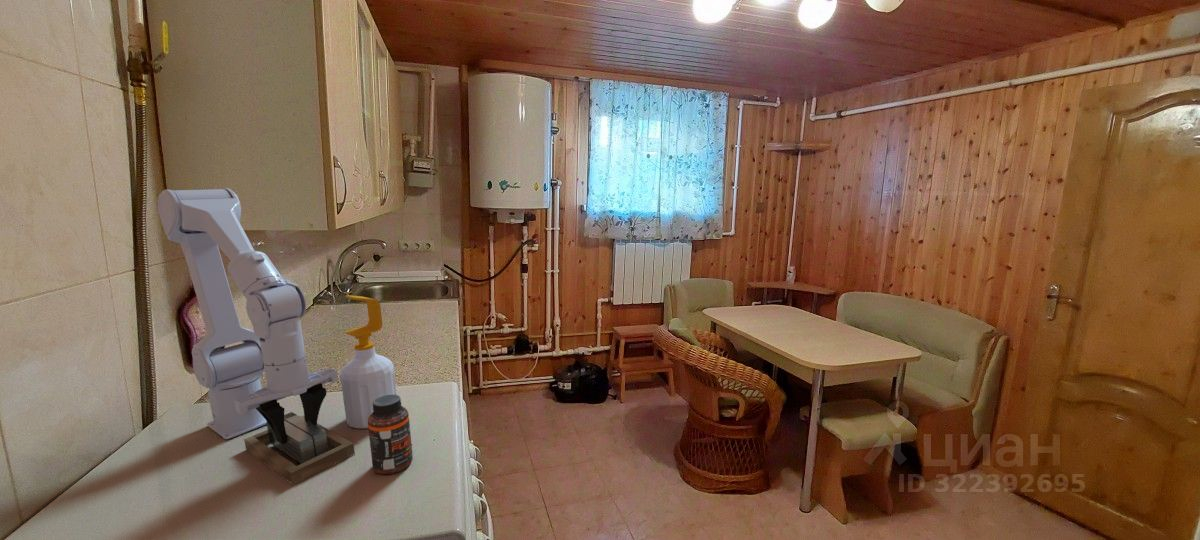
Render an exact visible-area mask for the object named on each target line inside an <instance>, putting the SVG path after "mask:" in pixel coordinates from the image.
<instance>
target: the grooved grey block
mask: <svg viewBox="0 0 1200 540" xmlns="http://www.w3.org/2000/svg"><path fill="white" fill-rule="evenodd" d="M266 423H267V424H266V428H267V429H266V430H268V434H269V440H270V443H269V444H271V445H272V446H273V447H275V448H277V449H278V450H280V451H281V452H283V453H285V454H286V455H287V456H289V457H290V458H292V459H293V460H295V461H296V462H298V463H300V464H302V463H304V462H307V461H309V460H311V459H313V458H315V457H317V456H319V455H321V454H323V453H326V452H328V451H330V450H329V449H330V448H329V446H328V442H327V435H326V430H324V429H322V428H320V427H318V426H317V425H315V424H313V423H311V422H309V421H307V420H305V419H304V418H302V417H301V416H300V415H298V414H296V413H294V412H293V411H291V412H289V413H285V414H284V425H285V430H286V436H287V443H284V444H281V443H280V442H278V441H277V439H276V436H275V434H274V432H273V430H272V428H271V427H270V425H269V424H268V422H266Z"/></svg>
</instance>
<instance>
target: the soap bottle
mask: <svg viewBox="0 0 1200 540" xmlns="http://www.w3.org/2000/svg"><path fill="white" fill-rule="evenodd" d="M345 298H346V299H351V300H356V301H363V302H365V304H366V306H367V313H368V314H367V315H368V323H367V324H365V325H364V326H360V327H356V328H352V329H349V330H346V332H345V333H346V335H349V336H352V337H354V338H355V340H358V343H357V344H355V345H354V353H355V354H354V355H355V357H354V358H353V359H351V360H350V361H349V362H347V363H346V364H345V365H344V367H342V369H341V371H340V372H341V373H340V375H339V376H340V384H341V391H342V398H343V405H344V412H345V421H346V424H347V425H348V426H349V427H350V428H354V429H368V418H369V416H370V414H371V413H373V401H374V400H375V399H376V398H378V397H381V396H384V395H391V394H393V395H398V393H397V388H396V387H397V386H396V377H395V368H394V364H393V362H392V361H391V360H390V359H389V358H387V357H385V356H383V355H380V354H377V353H376V349H375V342H373V341H370V339H369V338H370V337H371V336H372V333H373V334H374V333H376V332H379V331H380V330H381V329H382V328H383V317H382V308H381V302H379V301H378V300H377V299H374V298H372V297H371V298H370V297H366V296H361V295H351V294H349V295H348V294H346V295H345Z"/></svg>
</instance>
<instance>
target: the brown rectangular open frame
mask: <svg viewBox="0 0 1200 540" xmlns="http://www.w3.org/2000/svg"><path fill="white" fill-rule="evenodd" d="M300 417H302V418H304V415H301V416H300ZM304 419H305V418H304ZM317 426H318V427H320V428H322V429H324V430H326V435H327V442H328V448H329V449H330V448H331V449H330V450H329V451H328V452H326V453H323V454H321V455H319V456H317V457H315V458H313V459H311V460H309V461H307V462H304V463H302V464H301V463H300V464H299V465H295V464H294V463H293V462H291V461H290V460H288V459H286V458H285V457H284V456H282V455H281V454H279V453H278V452H277V451H275V450H273V449H272V448H270V447H269V446H268V444H271V443H270V440H269V434H268V429H266V430H264V431H261V432H258V433H256V434H254V435H251V436H249V437H246V438H244V439H243V440H244V445H245V450H246V451H247V452H249V454H251V455H252V456H254V458H256V459H258V460H259V461H261V462H262V463H263V464H264V465H266V466H267V467H269V468H270V469H271V468H272V469H271V470H273V471H274V472H275V471H276V472H275V473H277V474H278V475H279V474H280V475H279V476H281V477H282V478H283V477H284V478H283V479H285V480H286V479H287V480H288V481H287V480H286V481H287V482H288V483H290V482H291V483H290V484H291V485H293V486H294V485H296V484H298V483H300V482H303V481H304V480H306V479H308V478H310V477H313V476H314V475H316V474H319V473H320V472H322V471H324V470H326V469H328V468H330V467H332V466H334V465H336V464H338V463H339V461H340V462H342V461H343V459H344V458H346V457H348V456H350V457H352V456H354V455H356V453H355V447H354V445H355V444H354V442H352V441H350V440H348V439H346V438H345V437H342V436H341V435H339V434H338V433H336V432H333V431H332V430H330V429H328V428H326V426H323V425H321V424H319V423H318V422H317ZM353 454H354V455H353ZM351 455H352V456H351ZM348 458H349V457H348ZM346 459H347V458H346ZM341 460H342V461H341ZM344 460H345V459H344ZM337 462H338V463H337ZM335 463H336V464H335ZM333 464H334V465H333ZM331 465H332V466H331ZM329 466H330V467H329ZM323 469H324V470H323ZM321 470H322V471H321Z"/></svg>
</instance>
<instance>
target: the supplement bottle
mask: <svg viewBox="0 0 1200 540" xmlns="http://www.w3.org/2000/svg"><path fill="white" fill-rule="evenodd" d="M401 401H402V400H401V396H400V395H398V394H397V395H393V394H391V395H384V396H381V397H378V398H376V399H375V400H374V401H373V413H371V414H370V416H369V418H368V428H367V430H368V436H369V447H370V453H371V454H370V455H371V456H370V457H371V463H372V469H373V470H374V471H375V472H376V473H378V474H381V475H392V474H395V473H398V472H401V471H403V470H404V469H406V468H408V467H409V466H410V464H411V463H412V461H413V444H412V435H411V427H410V426H411V424H410V416H409V411H408V409H407V408H406V407H404V406H402V402H401Z"/></svg>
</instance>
